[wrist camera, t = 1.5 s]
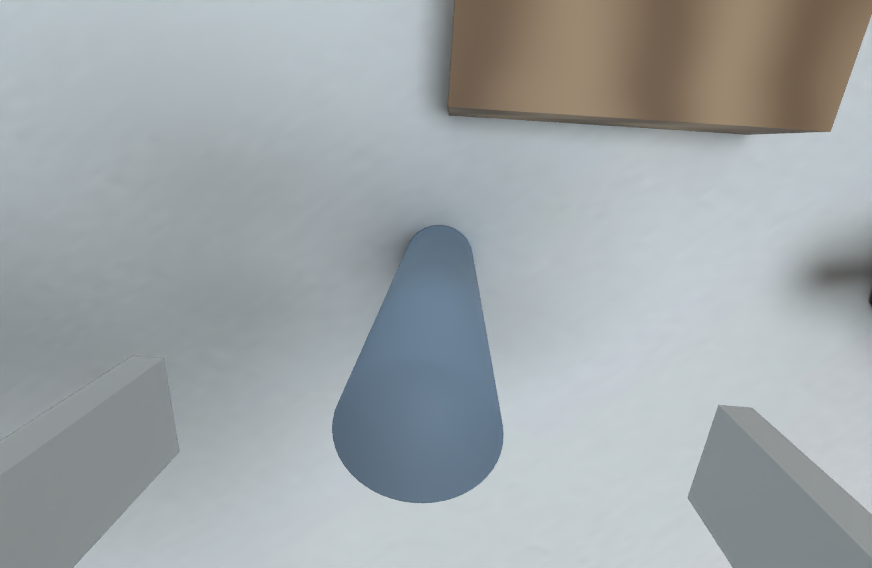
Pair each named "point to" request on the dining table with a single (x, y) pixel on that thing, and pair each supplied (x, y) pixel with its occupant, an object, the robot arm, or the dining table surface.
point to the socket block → (657, 62)
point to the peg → (424, 381)
